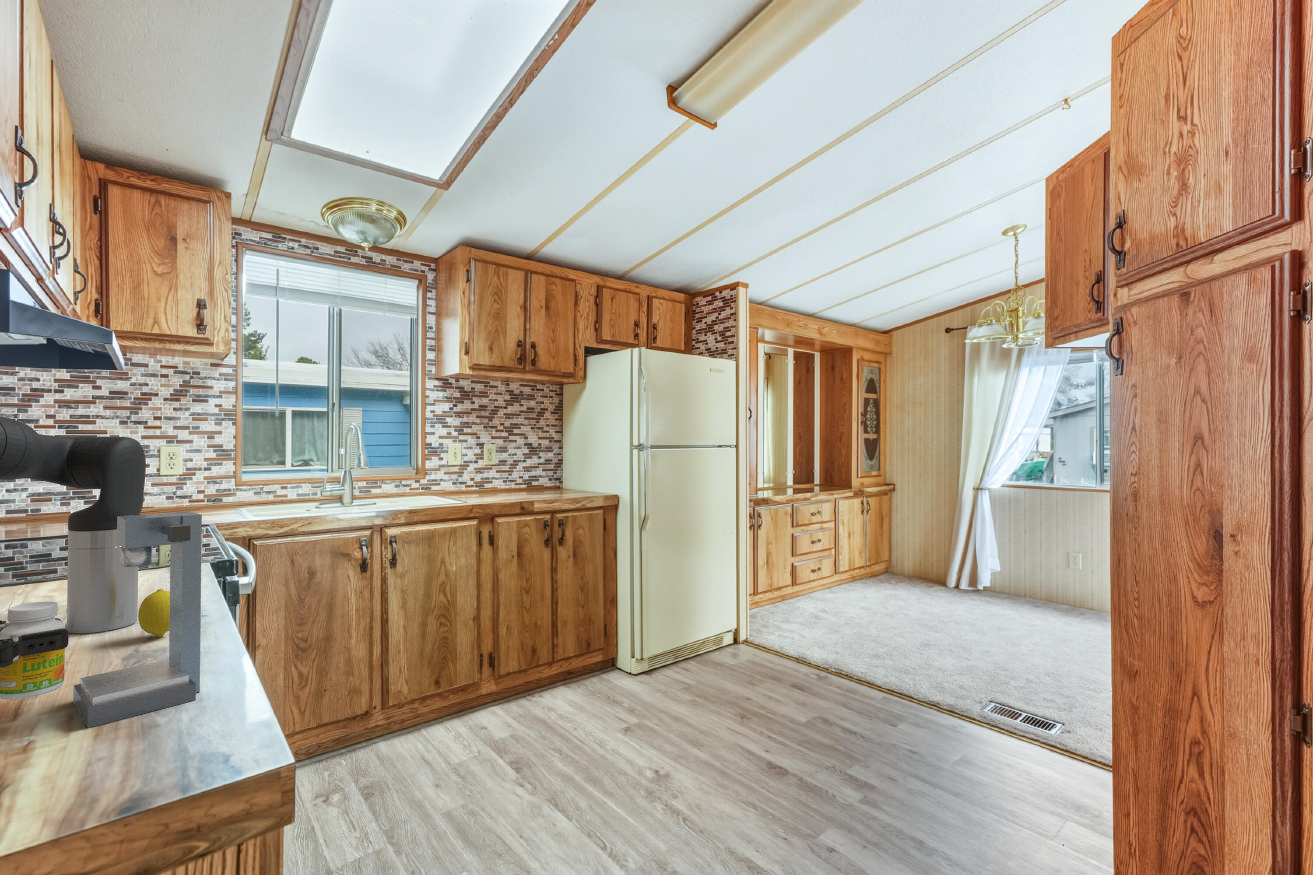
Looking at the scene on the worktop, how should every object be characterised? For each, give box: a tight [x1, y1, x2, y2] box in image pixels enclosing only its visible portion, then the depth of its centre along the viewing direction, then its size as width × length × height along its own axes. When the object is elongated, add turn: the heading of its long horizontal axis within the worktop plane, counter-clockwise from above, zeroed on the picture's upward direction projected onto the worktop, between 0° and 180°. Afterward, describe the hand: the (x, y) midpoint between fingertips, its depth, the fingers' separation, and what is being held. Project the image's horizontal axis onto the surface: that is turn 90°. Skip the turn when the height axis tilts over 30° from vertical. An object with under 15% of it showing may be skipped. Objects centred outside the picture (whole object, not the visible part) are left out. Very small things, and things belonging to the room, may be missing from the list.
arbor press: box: [72, 510, 203, 729], centre depth 76 cm, size 15×11×23 cm
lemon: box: [137, 588, 170, 638], centre depth 101 cm, size 6×6×8 cm
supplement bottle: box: [0, 600, 66, 700], centre depth 70 cm, size 5×5×10 cm
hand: (63, 632), depth 72 cm, fingers closed on supplement bottle, 5 cm apart
